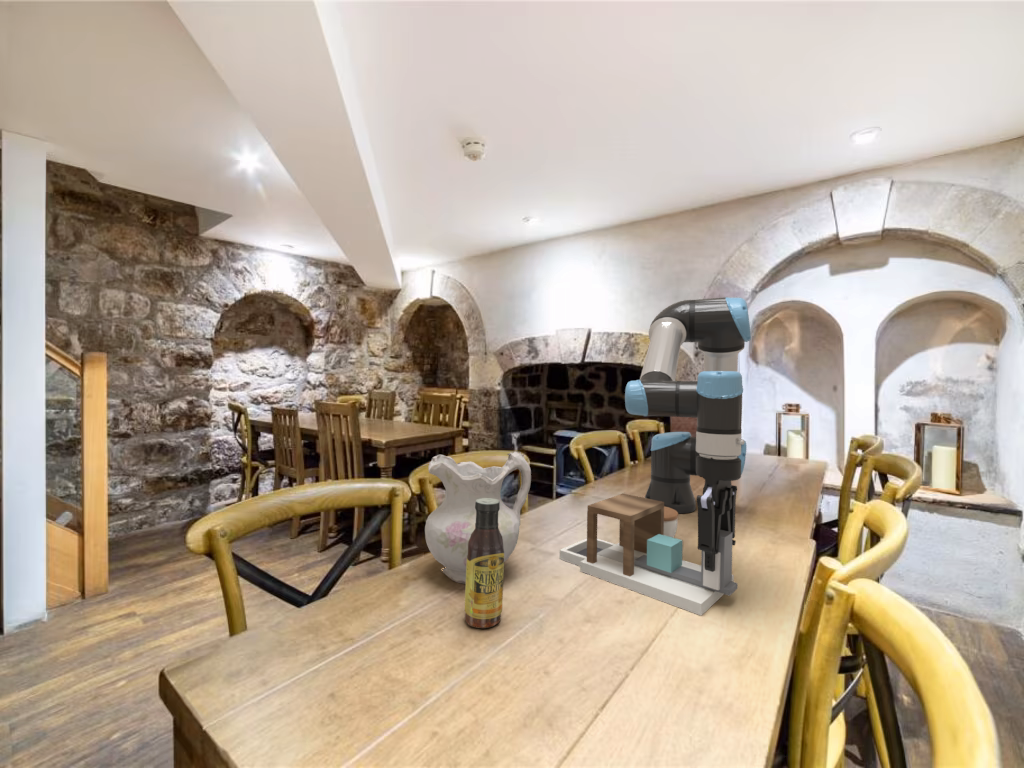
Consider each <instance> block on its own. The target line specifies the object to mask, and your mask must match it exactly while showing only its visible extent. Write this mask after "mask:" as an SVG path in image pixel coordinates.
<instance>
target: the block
mask: <svg viewBox="0 0 1024 768" xmlns="http://www.w3.org/2000/svg"><path fill="white" fill-rule="evenodd" d="M682 560H683V540H682V539H679V538H677V537H673V538H672V537H669V536H665V535H661V534H658V535H656V536H654V537H652V538H650V539H648V540H647V565H648V566H651V567H654V568H657V569H660V570H664V571H667V572H670V573H672V572H673V571H674V570H676V569H677V568H679V567H680V566H682Z"/></svg>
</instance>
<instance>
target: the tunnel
mask: <svg viewBox="0 0 1024 768" xmlns="http://www.w3.org/2000/svg"><path fill="white" fill-rule="evenodd" d="M586 512H587V513H586V538H587V562H589V563H592V564H593V563H595V562H597V539H598V515H600V516H604V517H608V518H612V519H616V520H619V537H618V538H619V540H618V541H619V542H618V543H619V546H623V574H624V575H627V576H629V577H630V576H632V575H633V574H634V550H636V551H639V552H643V553H646V554H647V540H648V539H650V538H652V537H654V536H656V535H658V534H661V535H664V502H662V501H657V500H652V499H647V498H645V497H641V496H639V495H638V496H636V495H631V494H627V493H621V494H617V495H614V496H612V497H608V498H606V499H603V500H600V501H597V502H593V503H591V504H589V505H587V511H586Z"/></svg>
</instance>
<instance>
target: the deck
mask: <svg viewBox="0 0 1024 768" xmlns="http://www.w3.org/2000/svg"><path fill="white" fill-rule="evenodd" d="M642 555H647V554H646V553H643V552H639V551H636V550H634V560H635V559H637V558H639V557H641V556H642ZM559 560H562V561H565V562H568V563H570V564H573V565H575V566H579V568H580V569H579V572H582V573H585V574H587V575H591V576H593V577H595V578H597V579H601V580H603V581H607V582H608V583H611V584H614V585H617V586H620V587H622V588H625V589H628V590H631V591H633V592H636V593H639V594H642V595H643V596H646V597H649V598H653V599H655V600H657V601H661V602H664V603H665V604H668V605H672V606H674V607H677V608H679V609H682V610H684V611H688V612H689V613H693V614H696V615H698V616H703V615H704V614H705V613H706V612H707V610H709V609H710V608H711V607H712V606H713V605H714V604H715V603H716V602H717V601H718V600H719V599H721V598H722V597H723V596H724V595H725V594H722V593H719V592H716V591H713V590H710V589H707V588H704V587H701V586H698V585H694V584H691V583H688V582H685V581H682V580H679V579H676V578H673V577H670V576H667V575H664V574H660V573H657V572H654V571H651V570H648V569H645V568H642V567H639V566H636V565H634V574H633V575H632V576H630V577H629V576H627V575H624V574H623V546H619V542H618V543H614V542H609V541H606V540H603V539H600V538H597V562H595V563H593V564H592V563H589V562H587V537H586V538H584V539H581V540H579V541H577V542H575V543H572V544H570V545H567V546H565V547H563V548H561V549H559ZM682 566H683V567H686V568H690V569H693V570H696V571H700V572H701V564H697V563H694V562H691V561H687V560H684V559H682ZM734 579H735V575H734V574H732V581H733V582H735V580H734Z"/></svg>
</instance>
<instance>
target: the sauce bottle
mask: <svg viewBox="0 0 1024 768" xmlns="http://www.w3.org/2000/svg"><path fill="white" fill-rule="evenodd" d="M475 509H476V523H475V530H474V531H473V532H472V534H471V537H470V539H469V542H468V555H467V563H466V584H465V588H464V589H465V591H464V612H465V613H464V616H465V617H464V619H465V623H467V625H469V626H470V627H473V628H476V629H489V628H492V627H494V626H496V625H497V624H499V623H500V621H501V617H502V612H503V601H504V600H503V597H504V570H505V568H504V567H505V562H504V547H503V538H502V535H501V533H500V531H499V528H498V511H499V509H500V502H499V500H497V499H493V498H481V499H477V500H476V503H475Z"/></svg>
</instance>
